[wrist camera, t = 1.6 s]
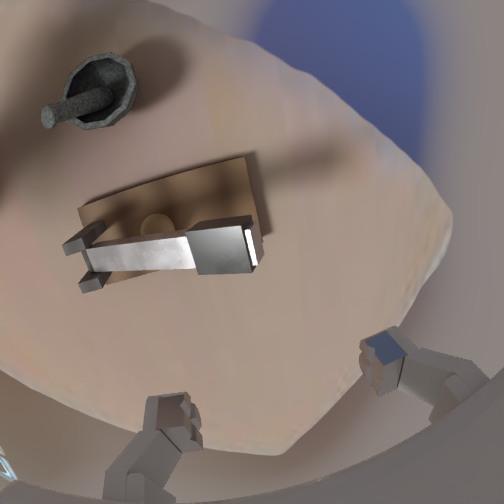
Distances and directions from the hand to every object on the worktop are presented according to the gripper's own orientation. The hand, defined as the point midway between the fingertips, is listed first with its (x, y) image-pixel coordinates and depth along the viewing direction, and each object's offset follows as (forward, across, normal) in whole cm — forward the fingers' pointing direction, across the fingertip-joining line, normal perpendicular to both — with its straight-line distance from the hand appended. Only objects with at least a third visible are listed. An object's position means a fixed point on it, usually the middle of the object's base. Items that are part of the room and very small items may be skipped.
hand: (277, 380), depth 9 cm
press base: (+31, +8, 0) cm, 32 cm away
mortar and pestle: (+32, +12, -19) cm, 39 cm away
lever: (+20, +7, 0) cm, 21 cm away
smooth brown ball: (+29, +9, 0) cm, 31 cm away
